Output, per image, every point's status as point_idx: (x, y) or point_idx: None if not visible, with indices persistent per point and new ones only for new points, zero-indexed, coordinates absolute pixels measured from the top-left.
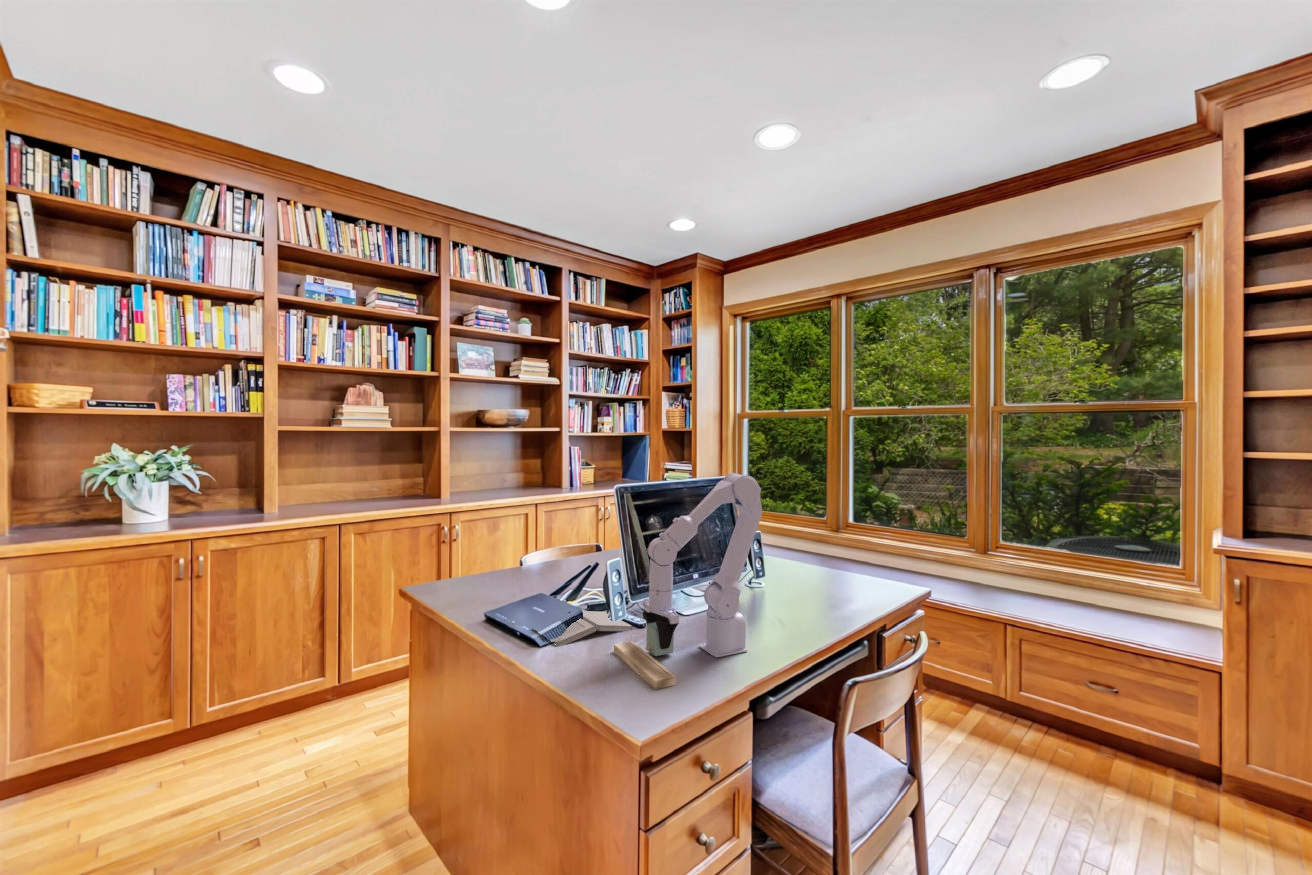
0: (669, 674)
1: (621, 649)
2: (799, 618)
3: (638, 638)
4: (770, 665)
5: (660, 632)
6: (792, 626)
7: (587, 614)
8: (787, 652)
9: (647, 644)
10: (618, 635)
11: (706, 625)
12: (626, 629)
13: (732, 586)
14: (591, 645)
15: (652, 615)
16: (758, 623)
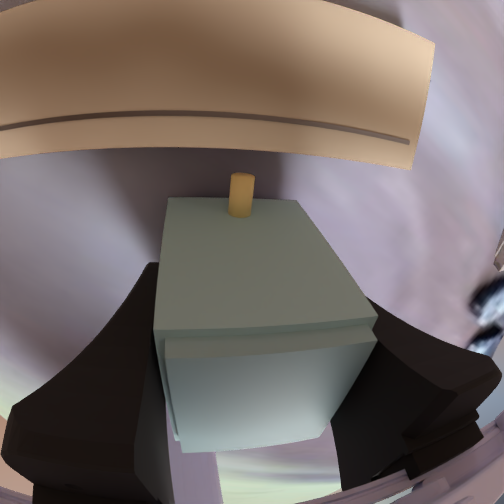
0: None
1: (342, 16)
2: (249, 501)
3: (439, 246)
4: None
5: (91, 349)
6: (224, 496)
7: None
8: None
9: (292, 216)
10: (500, 190)
11: (186, 488)
12: (502, 244)
13: None
14: (496, 29)
15: (394, 429)
16: (271, 480)
